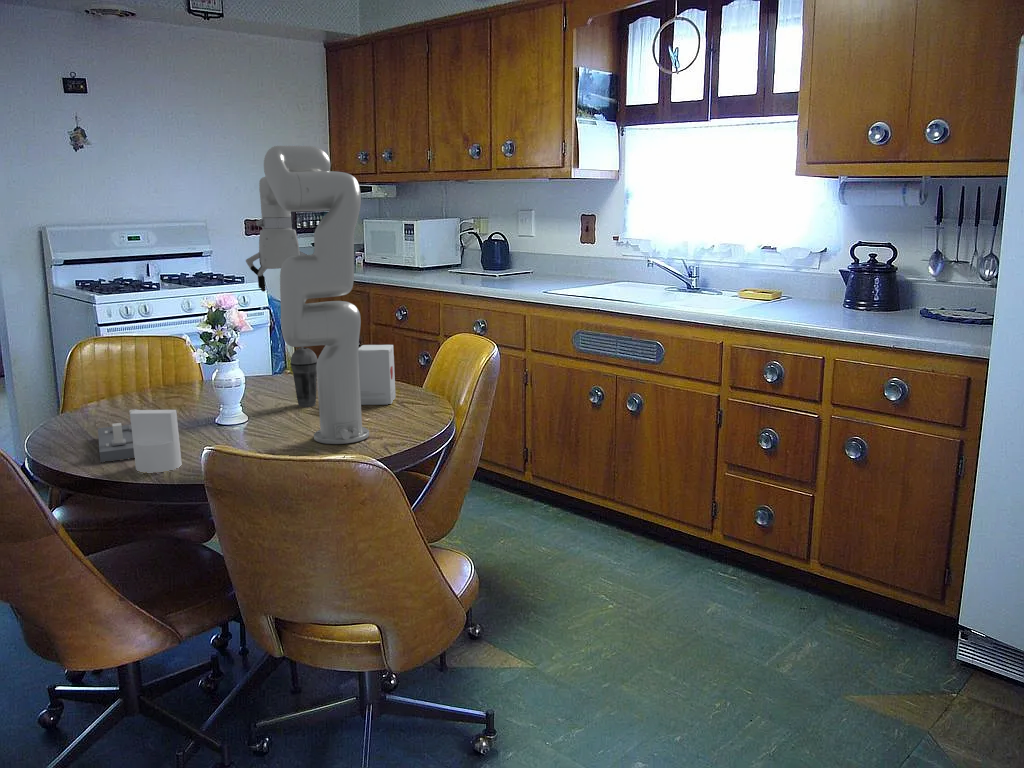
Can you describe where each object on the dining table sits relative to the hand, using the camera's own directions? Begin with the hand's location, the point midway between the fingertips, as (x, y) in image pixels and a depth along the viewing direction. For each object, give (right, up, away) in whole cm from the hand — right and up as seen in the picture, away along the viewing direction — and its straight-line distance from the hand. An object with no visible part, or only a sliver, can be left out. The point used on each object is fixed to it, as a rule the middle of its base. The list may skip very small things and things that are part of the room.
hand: (281, 289), depth 238 cm
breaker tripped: (-26, -35, -30) cm, 53 cm away
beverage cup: (+7, -31, +1) cm, 32 cm away
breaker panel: (-24, -39, -34) cm, 57 cm away
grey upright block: (-13, -43, -51) cm, 68 cm away
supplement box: (+25, -30, +4) cm, 39 cm away
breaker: (-25, -38, -42) cm, 62 cm away
